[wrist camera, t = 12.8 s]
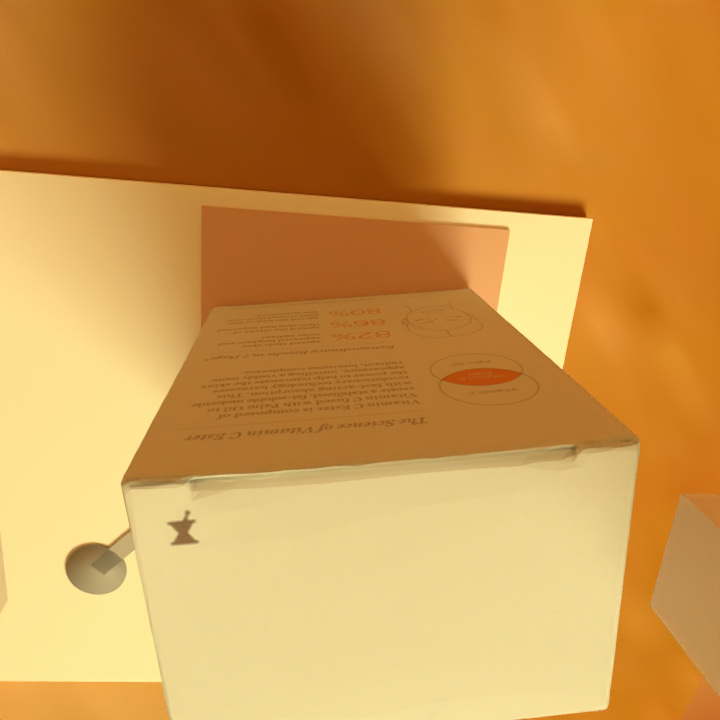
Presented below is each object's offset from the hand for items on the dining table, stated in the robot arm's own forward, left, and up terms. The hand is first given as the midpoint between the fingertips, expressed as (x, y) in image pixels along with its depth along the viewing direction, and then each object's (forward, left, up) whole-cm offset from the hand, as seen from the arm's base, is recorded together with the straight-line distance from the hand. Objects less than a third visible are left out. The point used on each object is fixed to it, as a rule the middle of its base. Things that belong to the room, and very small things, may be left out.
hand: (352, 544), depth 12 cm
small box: (0, 0, -9) cm, 8 cm away
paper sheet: (-4, -3, -9) cm, 10 cm away
